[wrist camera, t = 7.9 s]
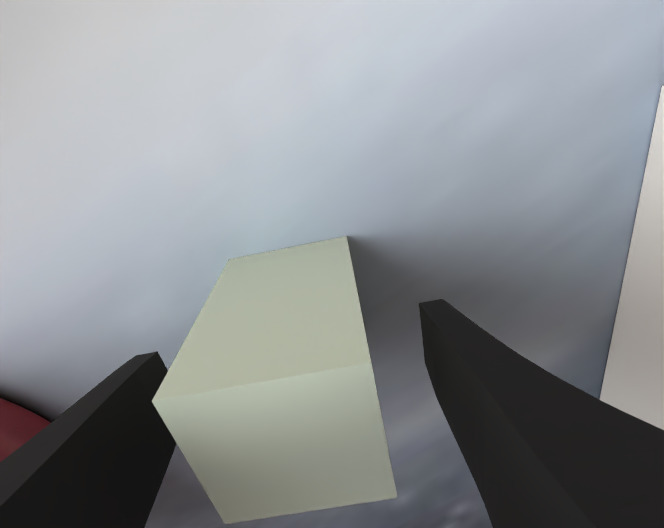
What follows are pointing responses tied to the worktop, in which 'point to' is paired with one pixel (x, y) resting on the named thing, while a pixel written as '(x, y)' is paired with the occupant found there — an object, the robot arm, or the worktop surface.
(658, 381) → the serving tray
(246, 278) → the sage block
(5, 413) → the canister
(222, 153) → the worktop surface
